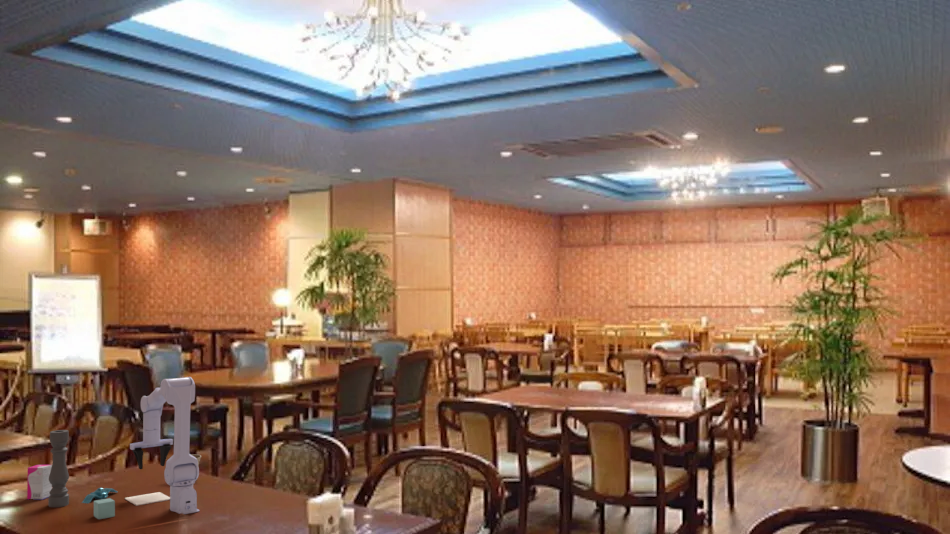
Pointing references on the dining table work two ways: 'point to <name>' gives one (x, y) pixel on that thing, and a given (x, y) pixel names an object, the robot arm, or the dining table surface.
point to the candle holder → (58, 469)
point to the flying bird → (98, 494)
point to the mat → (148, 498)
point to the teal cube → (104, 508)
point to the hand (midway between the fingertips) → (151, 467)
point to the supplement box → (38, 482)
